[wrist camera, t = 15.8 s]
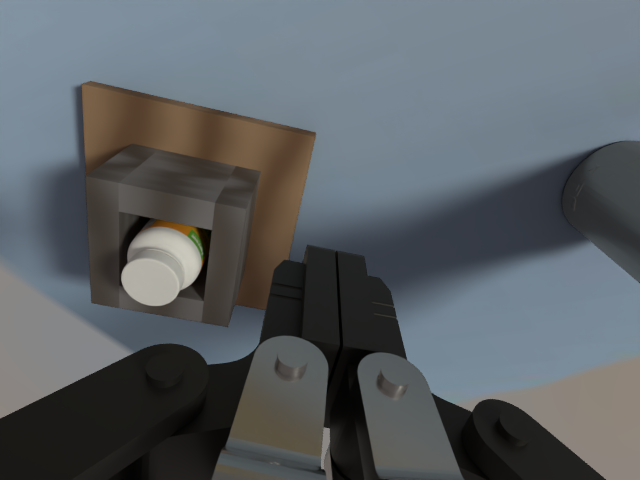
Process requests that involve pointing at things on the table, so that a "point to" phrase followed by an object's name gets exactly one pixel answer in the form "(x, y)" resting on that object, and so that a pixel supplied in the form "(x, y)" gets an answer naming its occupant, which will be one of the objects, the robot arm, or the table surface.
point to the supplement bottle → (164, 261)
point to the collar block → (190, 195)
